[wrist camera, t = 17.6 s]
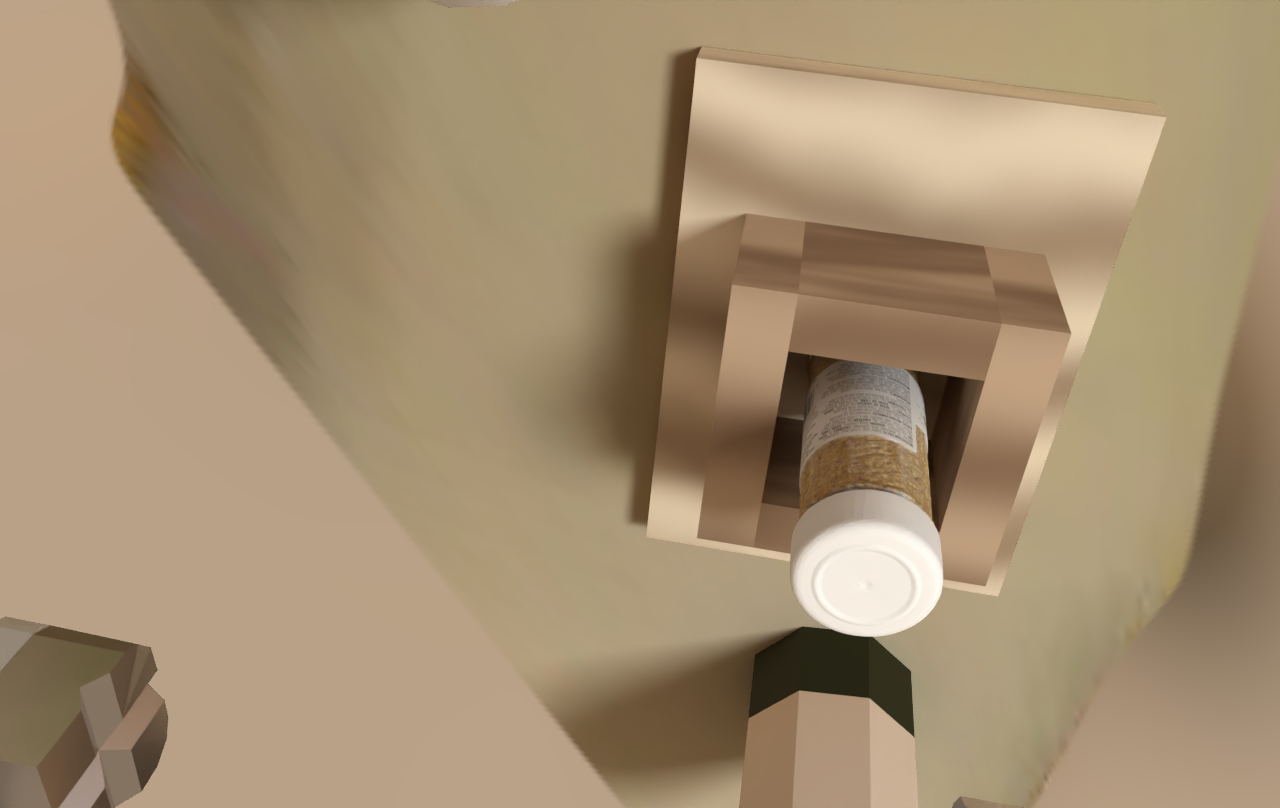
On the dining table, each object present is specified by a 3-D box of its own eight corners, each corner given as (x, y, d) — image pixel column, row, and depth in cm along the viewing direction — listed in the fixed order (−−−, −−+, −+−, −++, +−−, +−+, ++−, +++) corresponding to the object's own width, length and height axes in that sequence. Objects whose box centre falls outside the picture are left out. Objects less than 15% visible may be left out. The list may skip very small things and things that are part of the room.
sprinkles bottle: (897, 421, 45) (911, 659, 34) (791, 390, 45) (769, 619, 34) (939, 327, 42) (969, 553, 31) (826, 295, 43) (815, 509, 31)
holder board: (701, 46, 40) (672, 112, 33) (1156, 103, 38) (1214, 182, 32) (651, 516, 52) (623, 629, 46) (994, 574, 50) (1014, 697, 44)
